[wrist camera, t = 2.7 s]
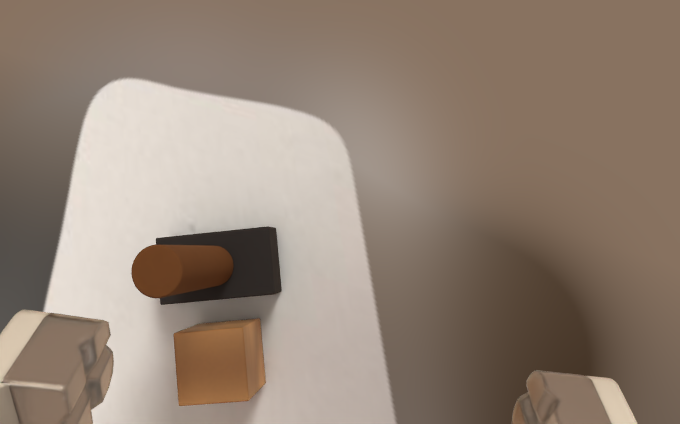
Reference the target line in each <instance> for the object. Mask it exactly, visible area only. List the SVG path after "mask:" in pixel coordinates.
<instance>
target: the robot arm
mask: <svg viewBox="0 0 680 424" xmlns="http://www.w3.org/2000/svg"><path fill="white" fill-rule="evenodd" d="M110 335H111V334H110V328H109V323H108V322H107V321H104V320H98V319H91V318H84V317H77V316H70V315H63V314H56V313H46V312H39V311H31V310H24V309H23V310H21V311H20V312H18V313H17V314H15V315H14V316H13V318H12V319H11V320H10V322H9V323H8V325H7V326H6V327H5V328H4V330H3V331H2V332H1V334H0V424H93V420H92V413H91V410H92V409H93V408H94V407H96V406H97V405H99V404H100V403H102V402H103V400H104V398H105V395H106V393H107V391H108V388H109V385H110V381H111V377H112V373H113V362H114V360H113V351H112V350H111V349H110V348H109V347H108V346H107V345H106V343H107V341H108V339H109V337H110ZM526 385H527V388H528V391H529V392H528V393H526V394H524V395H522V396H521V397H519V398H518V400H517V402H516V405H515V407H514V409H513V418H512V424H637V421H636V420H635V417H634V416H633V414H632V412H631V410H630V408H629V406H628V404H627V402H626V400H625V398H624V396H623V394H622V392H621V390H620V388H619V386H618V384H617V383H616V382H615V381H614V380H612V379H610V378H602V377H593V376H583V375H576V374H566V373H556V372H547V371H537V370H535V371H534V372H533V373H531V374H530V376H529V378H528V380H527V382H526Z"/></svg>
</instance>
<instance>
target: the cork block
mask: <svg viewBox="0 0 680 424" xmlns="http://www.w3.org/2000/svg"><path fill="white" fill-rule="evenodd" d="M174 348H175V361H176V375H177V388H178V402H179V406H188V405H201V404H214V403H227V402H241V401H249V400H250V399H251V398H252V397H253V396H254V395H255V394H256V393H257V391H258V390H259V389H260V388H261V387H262V386H263V385H264V384H265V383H266V381H265V369H264V357H263V346H262V334H261V323H260V319H259V318H257V319H246V320H234V321H223V322H212V323H201V324H197V325H194V326H192V327H189V328H187V329H184V330H181V331H179V332H176V333H174Z"/></svg>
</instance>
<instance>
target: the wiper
mask: <svg viewBox="0 0 680 424" xmlns="http://www.w3.org/2000/svg"><path fill="white" fill-rule="evenodd" d="M132 279H133V282H134V284H135V286H136V287H137V289H138V290H139V291H140V292H141V293H143V294H144V295H146V296H148V297H151V298H160V303H161V305H164V304H175V303H186V302H197V301H207V300H218V299H229V298H240V297H250V296H261V295H272V294H276V293H279V292H281V279H280V268H279V257H278V246H277V235H276V228H273V227H259V228H250V229H240V230H231V231H221V232H212V233H202V234H193V235H183V236H173V237H164V238H156V245H152V246H148V247H146V248H145V249H143V250H142V251H141V252H140V253H139V254H138V255H137V256H136V258H135V260H134V262H133V265H132Z"/></svg>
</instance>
